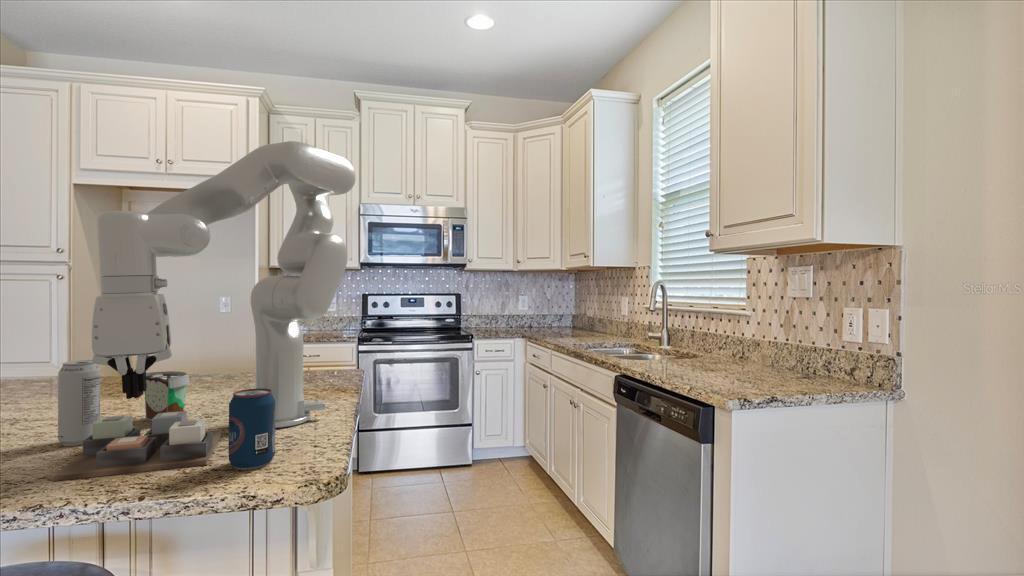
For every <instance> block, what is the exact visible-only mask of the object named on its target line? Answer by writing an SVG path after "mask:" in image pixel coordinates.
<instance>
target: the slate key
mask: <svg viewBox="0 0 1024 576" xmlns="http://www.w3.org/2000/svg"><path fill="white" fill-rule="evenodd" d="M187 412H188V411H187V410H184V411H181V412H168V413H158V414H157V415H156V416H155V417H154V418H153V419H152V421H151V428H152V434H162V433H169V429H170V427H171V426H172V425H173V424H174V423H175V422H181V421H188V418H187V417H188V416H187V415H188V413H187Z"/></svg>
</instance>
